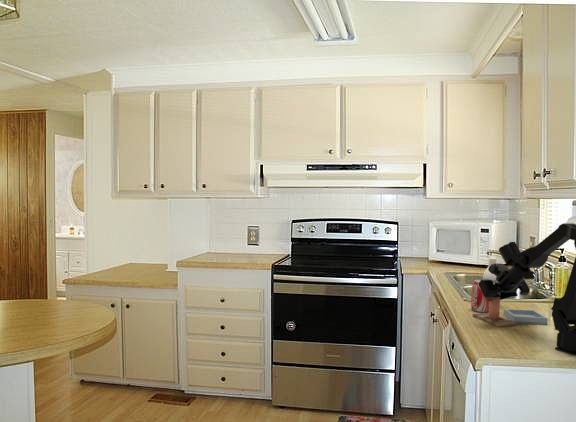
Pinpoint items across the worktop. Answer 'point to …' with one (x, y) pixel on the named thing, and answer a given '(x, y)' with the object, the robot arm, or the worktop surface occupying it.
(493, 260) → the bath foam
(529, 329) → the worktop surface
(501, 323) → the hitch plate
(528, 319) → the tray
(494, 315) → the pin
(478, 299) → the soda can
